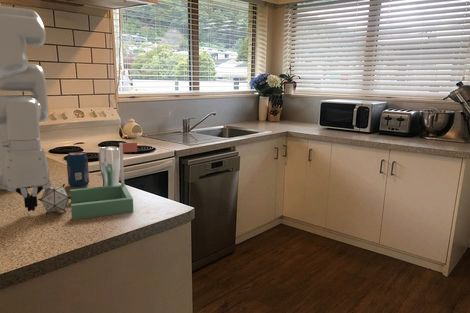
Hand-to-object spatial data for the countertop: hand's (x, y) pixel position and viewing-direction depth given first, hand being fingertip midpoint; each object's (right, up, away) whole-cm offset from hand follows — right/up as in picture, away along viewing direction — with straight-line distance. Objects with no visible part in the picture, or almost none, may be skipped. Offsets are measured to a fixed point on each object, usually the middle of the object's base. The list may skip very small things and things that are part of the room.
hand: (31, 209), depth 103 cm
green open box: (+19, 0, +9) cm, 21 cm away
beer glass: (+14, +3, +24) cm, 28 cm away
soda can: (+1, +4, +29) cm, 29 cm away
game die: (+6, -1, +3) cm, 6 cm away
